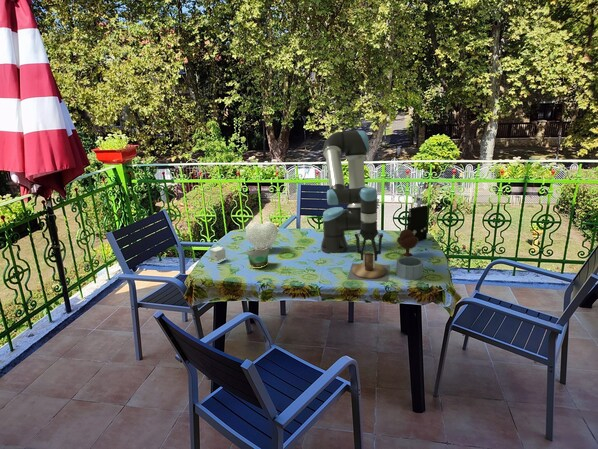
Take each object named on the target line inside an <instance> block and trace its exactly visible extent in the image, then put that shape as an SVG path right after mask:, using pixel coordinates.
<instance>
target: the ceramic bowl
mask: <svg viewBox="0 0 598 449" xmlns="http://www.w3.org/2000/svg"><path fill="white" fill-rule="evenodd" d="M395 275H396V276H398V278H400V279H404V280H418V279H420V278H422V277H423V276H424V261H423V259H422V258H418V257H415V256H410V257H406V256H402V257H399V258H397V259H396V274H395Z"/></svg>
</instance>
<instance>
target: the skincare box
mask: <svg viewBox="0 0 598 449" xmlns="http://www.w3.org/2000/svg"><path fill="white" fill-rule="evenodd" d="M209 253H210V259H211V258H212V259H214V260H216V261H219V260H221V259H224V258H226V259H227V256H226V249H225V248H224V247H222V246H219V245H217V246H214V247H213V248H210V249H209Z"/></svg>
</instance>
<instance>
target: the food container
mask: <svg viewBox="0 0 598 449" xmlns="http://www.w3.org/2000/svg"><path fill="white" fill-rule="evenodd" d="M269 252H270V247H268V245H267V247H264V248H255V249H254V248H253V249H252V250H249V249H246V255H247V256H248V262H249V266H250V265H251V266H253V267H261V266H264V265H266V264H267V263H268V264H269Z"/></svg>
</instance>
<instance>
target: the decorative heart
mask: <svg viewBox="0 0 598 449" xmlns="http://www.w3.org/2000/svg"><path fill="white" fill-rule="evenodd" d="M278 232H279V231H278V226H276V224H275V223H273V222H271V221H267V222H263V223H259V222H255V221H254V222H250V223H249V224H248V225H247V226H246V228H245V235H246V238H247V239H248V242H249V243H250V244H252V246H254V247H253V250H254V249H257V248H264V247H267V245H268V247H269V248H270V250H271V249H272V250H273V245H274V243H275V241H276V239H277V237H278Z"/></svg>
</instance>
